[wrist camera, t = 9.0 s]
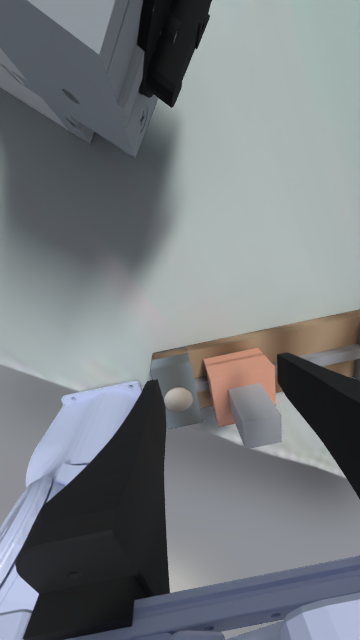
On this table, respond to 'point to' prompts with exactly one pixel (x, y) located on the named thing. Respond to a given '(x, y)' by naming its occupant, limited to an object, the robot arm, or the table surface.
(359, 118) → the table surface
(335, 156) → the table surface
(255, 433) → the carriage
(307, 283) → the table surface
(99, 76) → the circuit breaker
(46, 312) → the table surface
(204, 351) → the rail
